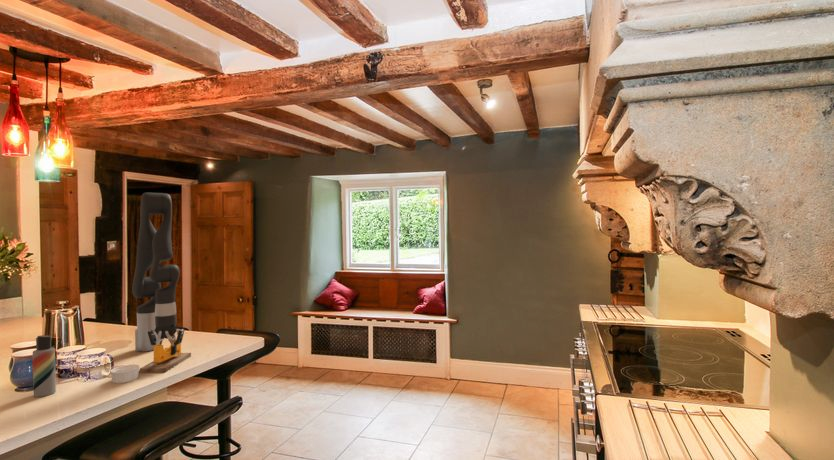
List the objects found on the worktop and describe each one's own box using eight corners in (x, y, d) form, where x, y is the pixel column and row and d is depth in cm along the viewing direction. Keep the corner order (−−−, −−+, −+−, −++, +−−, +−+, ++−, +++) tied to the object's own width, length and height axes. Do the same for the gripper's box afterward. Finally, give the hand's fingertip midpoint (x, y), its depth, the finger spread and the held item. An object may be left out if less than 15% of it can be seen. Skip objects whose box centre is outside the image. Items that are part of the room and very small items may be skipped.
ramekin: (117, 386, 151) (117, 374, 150) (106, 381, 155) (105, 369, 155) (144, 378, 158) (143, 366, 158) (132, 374, 163) (132, 362, 163)
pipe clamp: (171, 352, 180) (171, 337, 180) (180, 353, 179) (180, 338, 179) (149, 362, 168) (149, 345, 168) (159, 362, 167) (159, 346, 167)
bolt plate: (139, 372, 164) (139, 368, 164) (167, 356, 184) (167, 352, 184) (166, 372, 164) (166, 367, 164) (191, 356, 184) (191, 352, 184)
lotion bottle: (33, 394, 144) (31, 335, 144) (55, 389, 148) (53, 332, 148) (34, 398, 140) (32, 338, 140) (56, 393, 144) (55, 335, 144)
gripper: (188, 311, 178) (188, 351, 178) (153, 312, 177) (153, 352, 177) (179, 315, 170) (179, 357, 171) (142, 315, 170) (143, 358, 170)
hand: (166, 354), depth 174 cm, fingers closed on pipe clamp, 4 cm apart
